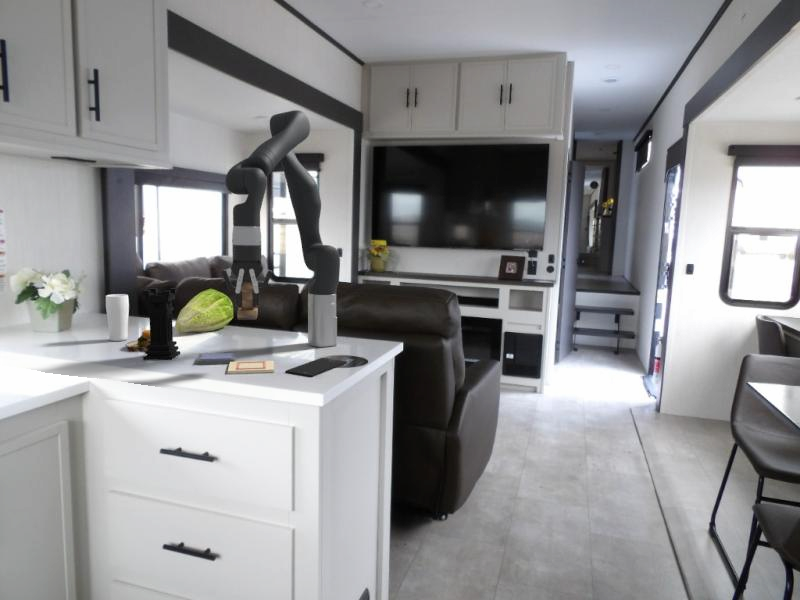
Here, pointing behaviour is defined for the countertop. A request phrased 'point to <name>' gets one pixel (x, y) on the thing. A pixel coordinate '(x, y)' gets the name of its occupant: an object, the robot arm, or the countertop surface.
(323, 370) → the cell phone
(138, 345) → the burger
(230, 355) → the ink pad
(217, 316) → the lettuce
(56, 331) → the countertop surface
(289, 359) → the countertop surface
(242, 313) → the stamp
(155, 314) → the chess piece
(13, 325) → the countertop surface
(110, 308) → the drinking glass
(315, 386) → the countertop surface
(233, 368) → the board
